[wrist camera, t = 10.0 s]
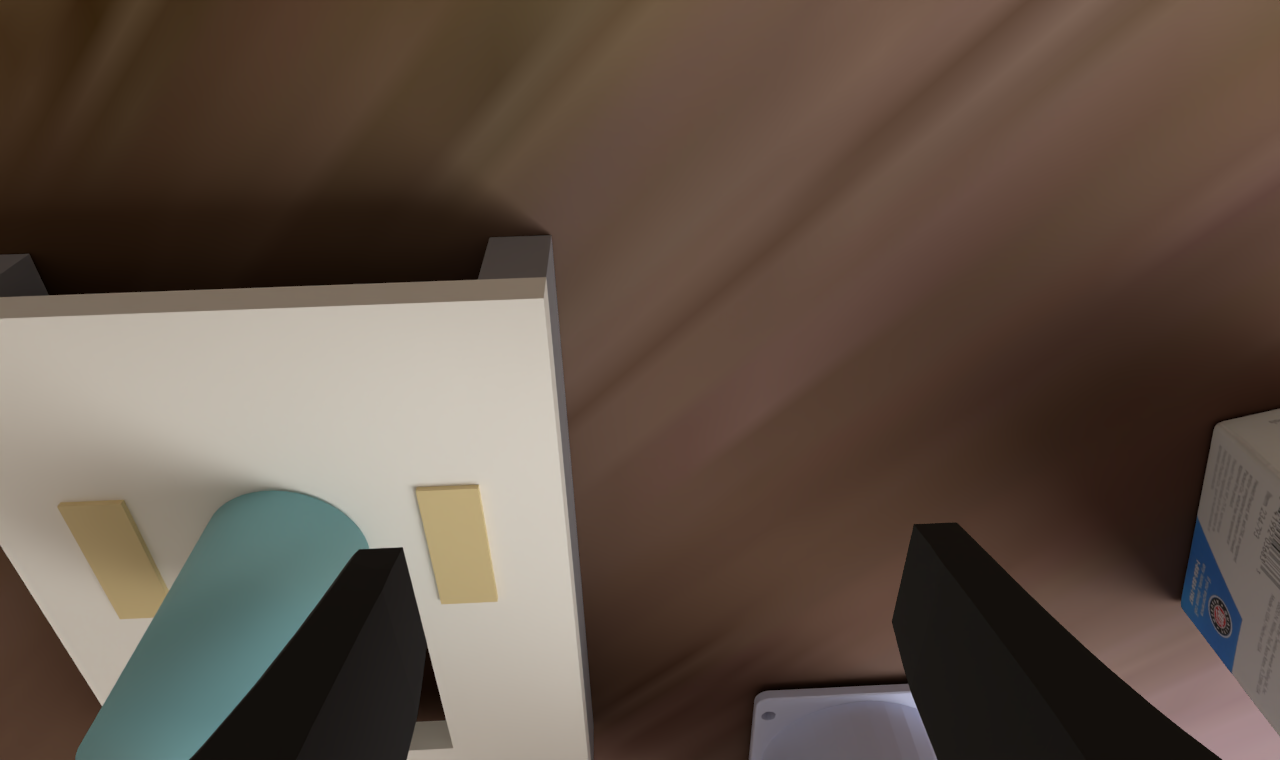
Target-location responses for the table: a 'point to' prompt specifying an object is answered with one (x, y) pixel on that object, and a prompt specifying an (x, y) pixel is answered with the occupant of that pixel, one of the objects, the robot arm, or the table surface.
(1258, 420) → the ink box
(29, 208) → the table surface
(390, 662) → the robot arm
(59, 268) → the table surface
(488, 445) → the board
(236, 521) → the peg
